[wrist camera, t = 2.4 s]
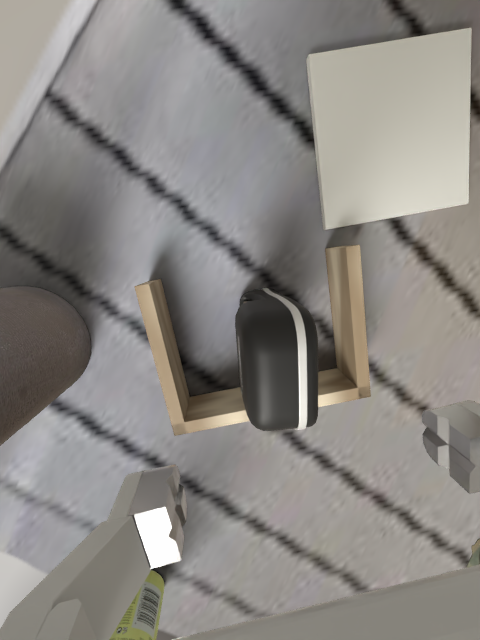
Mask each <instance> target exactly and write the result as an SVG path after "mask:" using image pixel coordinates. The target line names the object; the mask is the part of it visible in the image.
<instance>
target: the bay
mask: <svg viewBox="0 0 480 640" xmlns="http://www.w3.org/2000/svg"><path fill="white" fill-rule="evenodd" d="M325 252H326V262H327V272H328V282H329V292H330V302H331V312H332V321H333V331H334V341H335V351H336V361H337V368H335V369H330V370H325V371H319V372H318V407H321V406H326V405H331V404H336V403H341V402H346V401H351V400H356V399H361V398H366V397H371V394H370V380H369V366H368V352H367V338H366V324H365V310H364V296H363V282H362V268H361V254H360V245H351V246H337V247H332V248H326V249H325ZM135 290H136V294H137V298H138V302H139V305H140V309H141V313H142V316H143V320H144V324H145V328H146V331H147V335H148V339H149V342H150V346H151V350H152V354H153V357H154V361H155V365H156V368H157V372H158V376H159V380H160V383H161V387H162V391H163V394H164V398H165V402H166V406H167V409H168V413H169V417H170V420H171V424H172V428H173V432H174V435H175V436H176V435H181V434H186V433H191V432H196V431H201V430H206V429H211V428H216V427H221V426H226V425H231V424H236V423H241V422H246V421H250V420H249V418H248V416H247V413H246V410H245V406H244V402H243V398H242V393H241V388H240V387H238V388H233V389H228V390H223V391H218V392H213V393H207V394H202V395H197V396H192V397H190V396H189V392H188V388H187V384H186V380H185V376H184V372H183V367H182V363H181V359H180V355H179V351H178V347H177V343H176V339H175V335H174V331H173V327H172V323H171V318H170V314H169V310H168V306H167V302H166V298H165V294H164V290H163V286H162V282H161V279H158V280H153V281H148V282H145V283H143V284H140V285H137V286H135Z"/></svg>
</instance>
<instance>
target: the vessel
mask: <svg viewBox="0 0 480 640" xmlns="http://www.w3.org/2000/svg"><path fill="white" fill-rule="evenodd" d="M472 554H473V555H472V557H471V559H470V561H469V563H468V565H467V568H468V567H472V566H476V565H480V539H479V540H478V541H477V542H476V544H475V545H473V546H472Z"/></svg>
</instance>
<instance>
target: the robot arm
mask: <svg viewBox="0 0 480 640" xmlns="http://www.w3.org/2000/svg"><path fill="white" fill-rule="evenodd" d="M422 423H423V424H424V425H425V426H426V427H427V428H426V429H425V431H424V433H423V444H424V446H425V449H426V451H427V453H428V454H429V456H430V457H431V458H432V459H433V460H434V461H435V462H436V463H437V464H438V465H440V466H442V467H445V468H447V469H449V473H450V476H451V477H452V478H453V479H454V480H455V481H456V482H457V483H458V484H459V485H460V486H462V487H463V488H464V489H465V490H466V491H467V492H468V493H469V494H471V493H476V492H480V404H479V403H477V402H475V401H470V400H467V401H463V402H459V403H455V404H453V405H448V406H444V407H439V408H435V409H430V410H426V411H424V412H423V414H422ZM179 480H180V473H179V469H178V466H177V465H171V466H165V467H160V468H155V469H150V470H145V471H140V472H135V473H131V474H128V475H127V476H126V477H125V479H124V481H123V484H122V486H121V489H120V491H119V493H118V496H117V498H116V501H115V503H114V505H113V508H112V510H111V513H110V515H109V517H108V520H107V521H105V522H102V523H100V524H99V525H98V526H97V527H96V528H95V529H94V530H93V531H92V532H91V533H90V534H89V535H88V536H87V537H86V538H85V539H84V540H83V541H82V542H81V543H80V544H79V545H78V546H77V547H76V548H75V549H74V550H73V551H72V552H71V553H70V554H69V555H68V556H67V557H66V558H65V559H64V560H63V561H62V562H61V563H60V564H59V565H58V566H57V567H56V568H55V569H54V570H53V571H52V572H51V573H50V574H49V575H48V576H47V577H46V578H45V579H44V580H43V581H41V582H40V583H39V585H37V587H35V588H34V590H32V591H31V592H30V593H29V594H28V595H27V596H26V597H25V598H24V599H23V600H22V601H21V602H20V603H19V604H18V605H17V606H16V607H15V608H14V609H13V610H12V611H11V612H10V614H9V615H8V617H7V619H6V620H5V622H4V624H3V625H2V627H1V629H0V640H109V639H110V638H111V636H112V634H113V633H114V631H115V629H116V628H117V626H118V624H119V623H120V621H121V619H122V618H123V616H124V614H125V613H126V611H127V609H128V608H129V606H130V604H131V603H132V601H133V600H134V598H135V596H136V595H137V593H138V591H139V590H140V588H141V586H142V585H143V583H144V581H145V580H146V578H147V576H148V575H149V573H150V571H151V570H150V569H152V568H156V567H159V566H163V565H167V564H171V563H174V562H178V561H181V560H182V551H183V543H184V534H183V530H182V527H183V525H184V524H185V522H186V516H187V502H186V495H185V491H184V487H183V486H182V485H180V484H179ZM173 640H480V565H476V566H472V567H468V568H464V569H460V570H456V571H452V572H448V573H444V574H440V575H435V576H431V577H427V578H423V579H419V580H415V581H411V582H407V583H403V584H398V585H394V586H390V587H386V588H382V589H378V590H374V591H370V592H366V593H361V594H357V595H353V596H349V597H345V598H341V599H337V600H333V601H328V602H324V603H320V604H316V605H312V606H308V607H304V608H300V609H296V610H292V611H287V612H283V613H279V614H275V615H271V616H267V617H263V618H259V619H255V620H251V621H246V622H242V623H238V624H234V625H230V626H226V627H222V628H218V629H214V630H210V631H205V632H201V633H197V634H193V635H189V636H185V637H181V638H177V639H173Z"/></svg>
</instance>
